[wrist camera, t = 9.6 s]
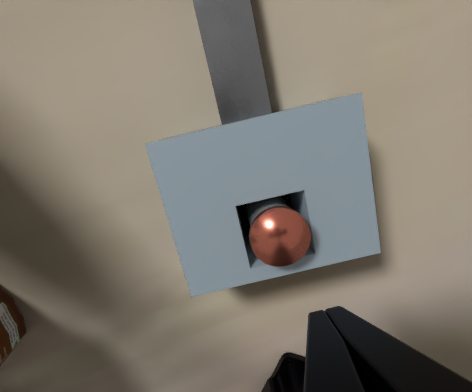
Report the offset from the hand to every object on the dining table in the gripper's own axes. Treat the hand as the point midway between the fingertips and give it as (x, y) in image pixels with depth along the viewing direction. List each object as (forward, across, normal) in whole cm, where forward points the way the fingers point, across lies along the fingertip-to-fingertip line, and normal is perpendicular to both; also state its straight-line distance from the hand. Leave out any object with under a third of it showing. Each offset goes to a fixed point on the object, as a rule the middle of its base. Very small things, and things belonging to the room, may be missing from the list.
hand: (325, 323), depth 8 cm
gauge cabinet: (+12, 0, -1) cm, 12 cm away
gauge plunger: (+11, 0, 0) cm, 11 cm away
